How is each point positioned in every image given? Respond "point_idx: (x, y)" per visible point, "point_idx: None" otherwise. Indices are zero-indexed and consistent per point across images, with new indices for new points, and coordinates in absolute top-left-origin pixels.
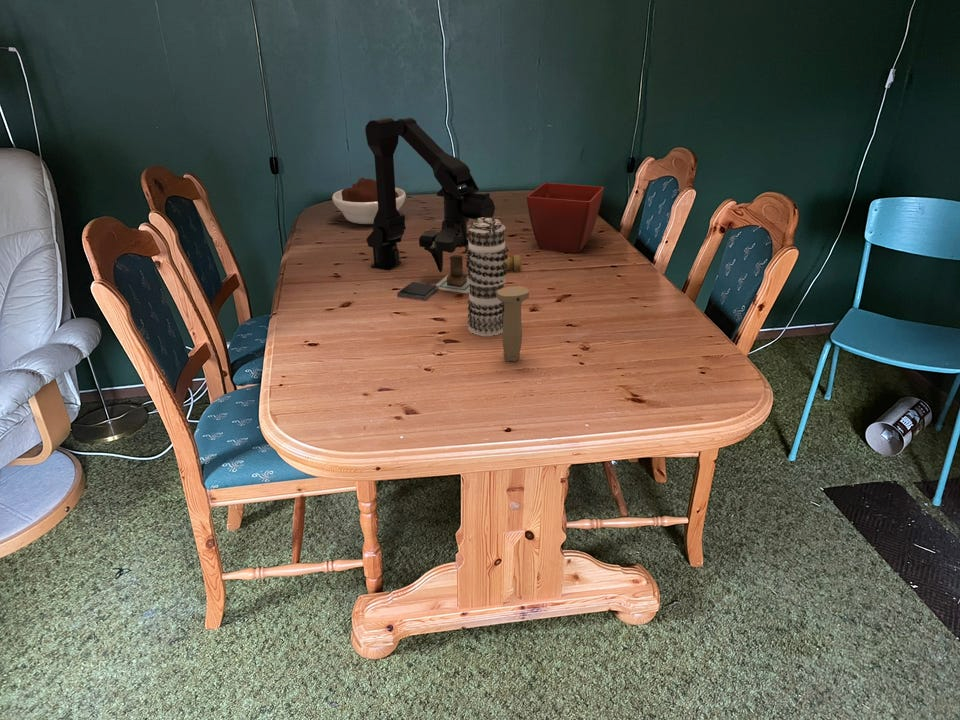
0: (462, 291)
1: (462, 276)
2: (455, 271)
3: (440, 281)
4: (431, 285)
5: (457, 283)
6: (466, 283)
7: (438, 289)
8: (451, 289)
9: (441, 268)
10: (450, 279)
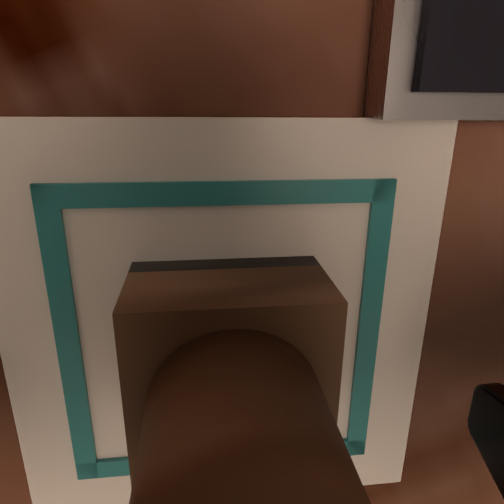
0: (43, 141)
1: (135, 398)
2: (219, 393)
3: (419, 328)
4: (484, 63)
5: (176, 276)
6: None
7: (368, 98)
8: (212, 156)
9: (500, 442)
10: (283, 292)
